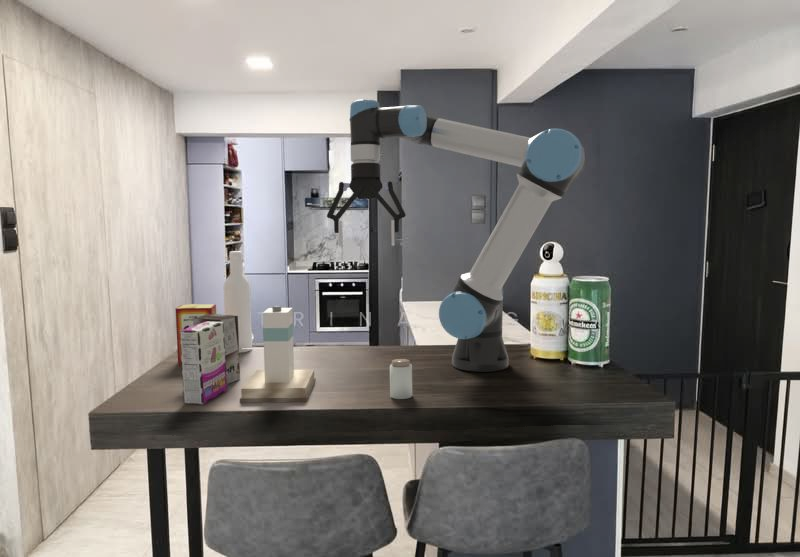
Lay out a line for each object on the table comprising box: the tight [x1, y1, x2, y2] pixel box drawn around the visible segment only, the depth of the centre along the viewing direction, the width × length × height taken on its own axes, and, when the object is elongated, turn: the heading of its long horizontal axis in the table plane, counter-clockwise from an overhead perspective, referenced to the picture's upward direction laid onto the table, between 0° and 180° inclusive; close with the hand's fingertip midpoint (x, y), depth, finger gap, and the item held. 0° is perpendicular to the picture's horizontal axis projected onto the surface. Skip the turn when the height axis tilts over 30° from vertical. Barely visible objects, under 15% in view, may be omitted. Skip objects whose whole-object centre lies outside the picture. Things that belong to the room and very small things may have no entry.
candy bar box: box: [180, 321, 228, 405], centre depth 136 cm, size 11×5×16 cm, turn 168°
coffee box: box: [193, 313, 241, 385], centre depth 150 cm, size 9×6×16 cm
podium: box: [239, 368, 317, 403], centre depth 141 cm, size 15×17×3 cm
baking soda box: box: [175, 303, 217, 365], centre depth 169 cm, size 10×6×16 cm
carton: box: [262, 305, 295, 383], centre depth 140 cm, size 6×7×17 cm
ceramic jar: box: [389, 358, 413, 400], centre depth 136 cm, size 5×5×8 cm
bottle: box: [223, 250, 253, 354], centre depth 183 cm, size 8×8×30 cm
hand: (366, 245), depth 158 cm, fingers open, 13 cm apart
